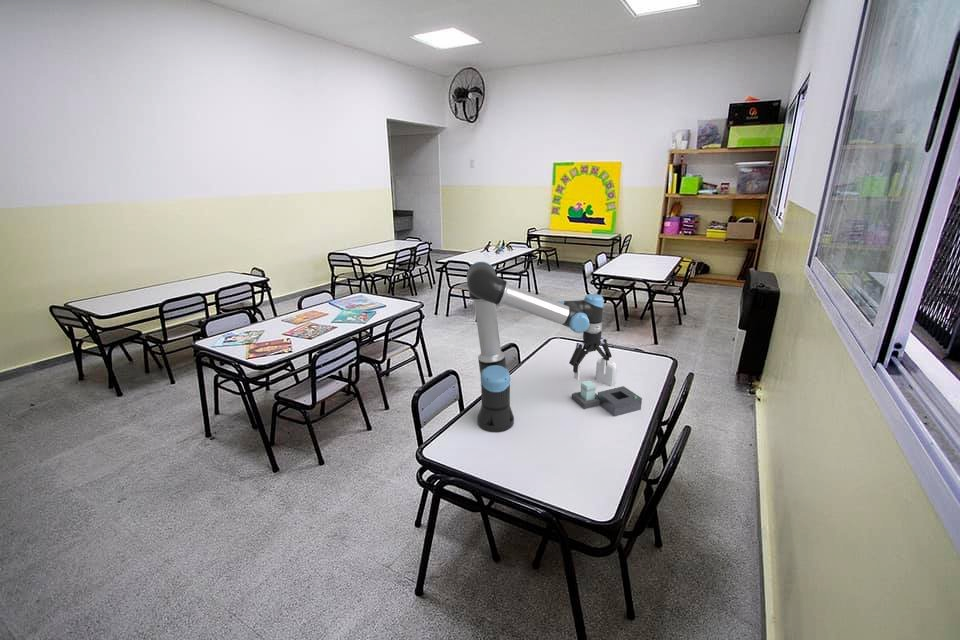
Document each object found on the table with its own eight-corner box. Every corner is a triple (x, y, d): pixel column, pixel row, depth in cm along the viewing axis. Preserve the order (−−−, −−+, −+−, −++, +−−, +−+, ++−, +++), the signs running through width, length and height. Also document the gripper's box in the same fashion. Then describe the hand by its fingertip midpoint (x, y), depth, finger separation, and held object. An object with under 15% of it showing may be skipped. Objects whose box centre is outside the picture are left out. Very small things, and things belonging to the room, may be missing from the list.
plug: (585, 405, 193) (587, 386, 190) (579, 400, 197) (581, 382, 194) (594, 402, 194) (596, 384, 191) (588, 398, 198) (589, 380, 195)
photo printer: (593, 380, 215) (595, 357, 211) (599, 378, 218) (601, 355, 214) (611, 388, 208) (613, 364, 204) (617, 385, 210) (619, 362, 206)
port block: (614, 417, 184) (615, 404, 182) (596, 404, 194) (597, 391, 192) (640, 410, 189) (642, 397, 186) (622, 397, 199) (623, 385, 197)
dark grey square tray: (584, 410, 190) (584, 404, 189) (571, 399, 198) (571, 393, 197) (603, 405, 193) (603, 399, 192) (589, 395, 202) (590, 389, 201)
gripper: (572, 338, 177) (570, 385, 184) (622, 328, 185) (618, 373, 192) (562, 332, 183) (560, 377, 190) (611, 323, 192) (607, 366, 199)
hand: (589, 375), depth 191 cm, fingers open, 13 cm apart
